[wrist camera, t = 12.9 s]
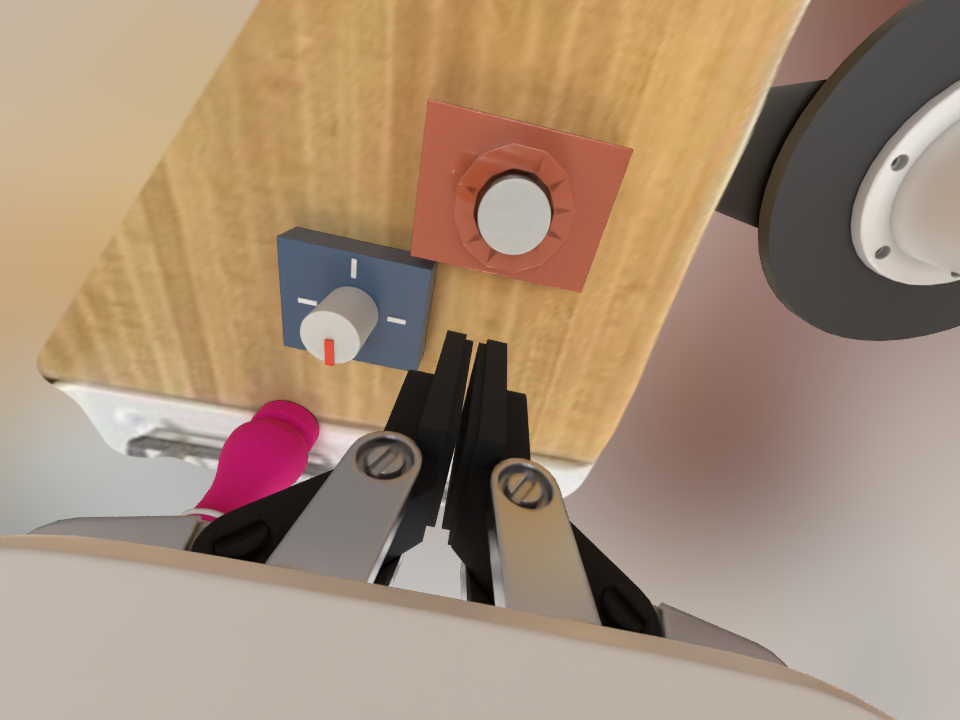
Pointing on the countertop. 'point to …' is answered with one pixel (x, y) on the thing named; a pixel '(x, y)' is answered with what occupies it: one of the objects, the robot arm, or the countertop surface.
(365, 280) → the tap panel
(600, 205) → the orange button housing
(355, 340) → the grey dial knob
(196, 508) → the pepper mill
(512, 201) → the push button
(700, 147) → the countertop surface
